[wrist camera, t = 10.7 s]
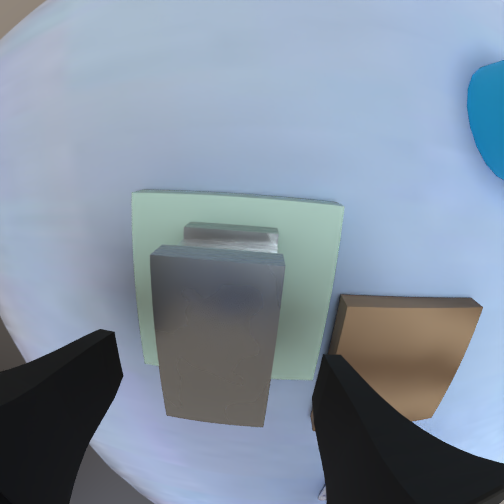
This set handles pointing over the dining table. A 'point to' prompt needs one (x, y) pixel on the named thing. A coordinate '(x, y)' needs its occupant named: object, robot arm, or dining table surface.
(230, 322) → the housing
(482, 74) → the mug
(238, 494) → the dining table surface
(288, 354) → the stand
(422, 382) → the stand
